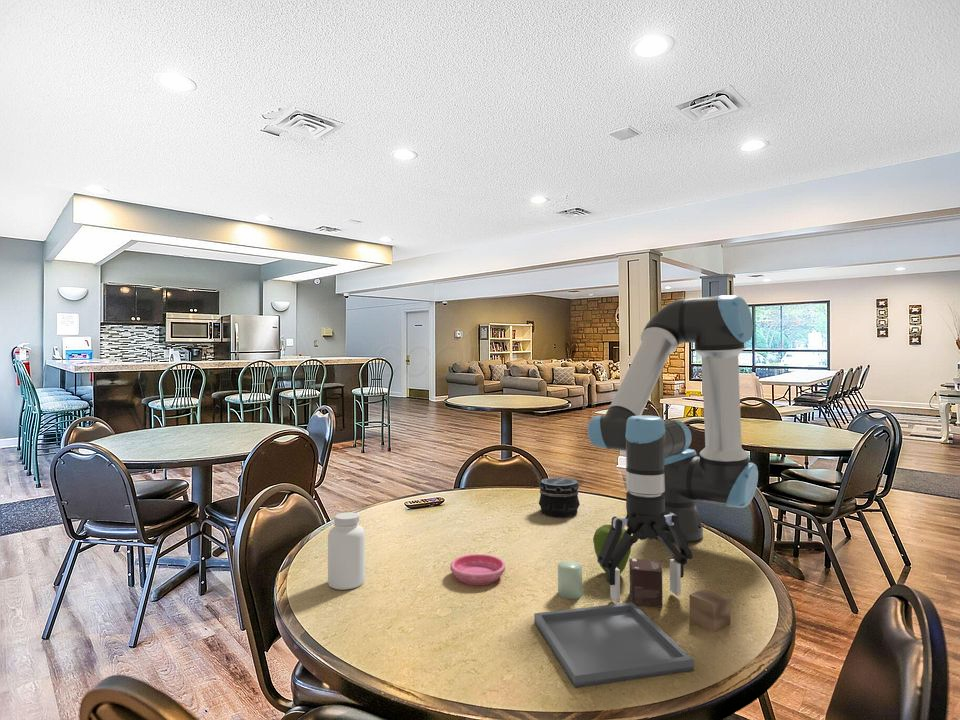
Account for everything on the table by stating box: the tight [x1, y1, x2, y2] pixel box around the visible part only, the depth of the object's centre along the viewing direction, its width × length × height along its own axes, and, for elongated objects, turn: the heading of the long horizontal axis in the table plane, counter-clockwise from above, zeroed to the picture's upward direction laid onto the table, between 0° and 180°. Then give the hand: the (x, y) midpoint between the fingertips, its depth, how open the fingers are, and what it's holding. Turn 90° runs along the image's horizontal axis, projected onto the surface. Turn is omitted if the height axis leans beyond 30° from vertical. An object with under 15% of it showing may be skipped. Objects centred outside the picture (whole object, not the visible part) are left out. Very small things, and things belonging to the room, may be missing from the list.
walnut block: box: [689, 587, 731, 633], centre depth 101 cm, size 5×5×5 cm
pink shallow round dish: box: [449, 553, 506, 586], centre depth 122 cm, size 12×12×3 cm
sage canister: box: [557, 560, 583, 600], centre depth 113 cm, size 5×5×6 cm
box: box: [628, 558, 663, 608], centre depth 110 cm, size 6×6×7 cm
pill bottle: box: [327, 511, 366, 590], centre depth 119 cm, size 8×8×15 cm
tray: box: [533, 601, 695, 688], centre depth 93 cm, size 20×20×2 cm
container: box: [538, 477, 581, 518], centre depth 170 cm, size 13×13×10 cm
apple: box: [592, 524, 632, 575], centre depth 122 cm, size 9×8×12 cm
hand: (645, 596), depth 110 cm, fingers open, 13 cm apart
